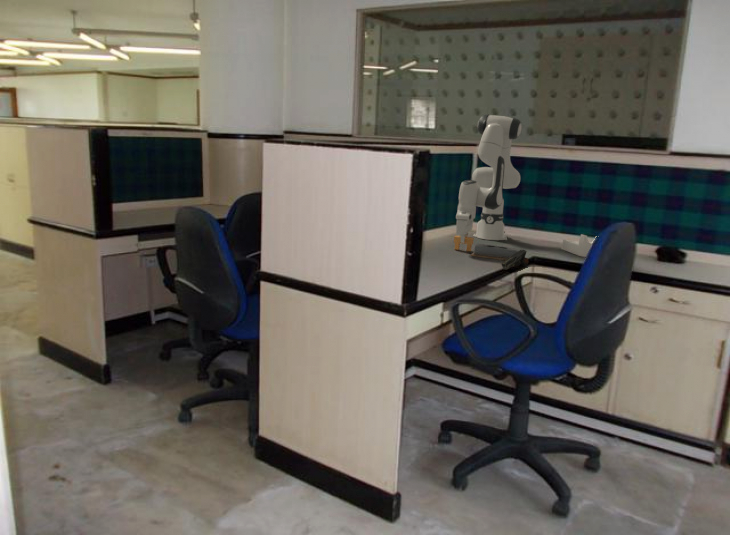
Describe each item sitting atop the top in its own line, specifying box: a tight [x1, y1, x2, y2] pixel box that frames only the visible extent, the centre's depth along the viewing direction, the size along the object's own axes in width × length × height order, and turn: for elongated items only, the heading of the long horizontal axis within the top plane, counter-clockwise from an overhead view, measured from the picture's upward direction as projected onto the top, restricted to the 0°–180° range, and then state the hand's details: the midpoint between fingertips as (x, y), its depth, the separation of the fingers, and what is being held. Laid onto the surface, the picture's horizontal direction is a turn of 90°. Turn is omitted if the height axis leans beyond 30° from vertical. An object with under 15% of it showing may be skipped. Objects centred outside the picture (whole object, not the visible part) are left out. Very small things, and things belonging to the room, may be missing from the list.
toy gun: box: [501, 248, 530, 271], centre depth 270 cm, size 2×16×10 cm, turn 130°
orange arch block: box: [453, 235, 475, 252], centre depth 302 cm, size 3×9×6 cm, turn 68°
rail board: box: [470, 243, 520, 261], centre depth 292 cm, size 12×22×5 cm, turn 69°
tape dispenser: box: [560, 233, 597, 258], centre depth 313 cm, size 18×10×10 cm, turn 13°
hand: (463, 241), depth 302 cm, fingers closed on orange arch block, 3 cm apart
